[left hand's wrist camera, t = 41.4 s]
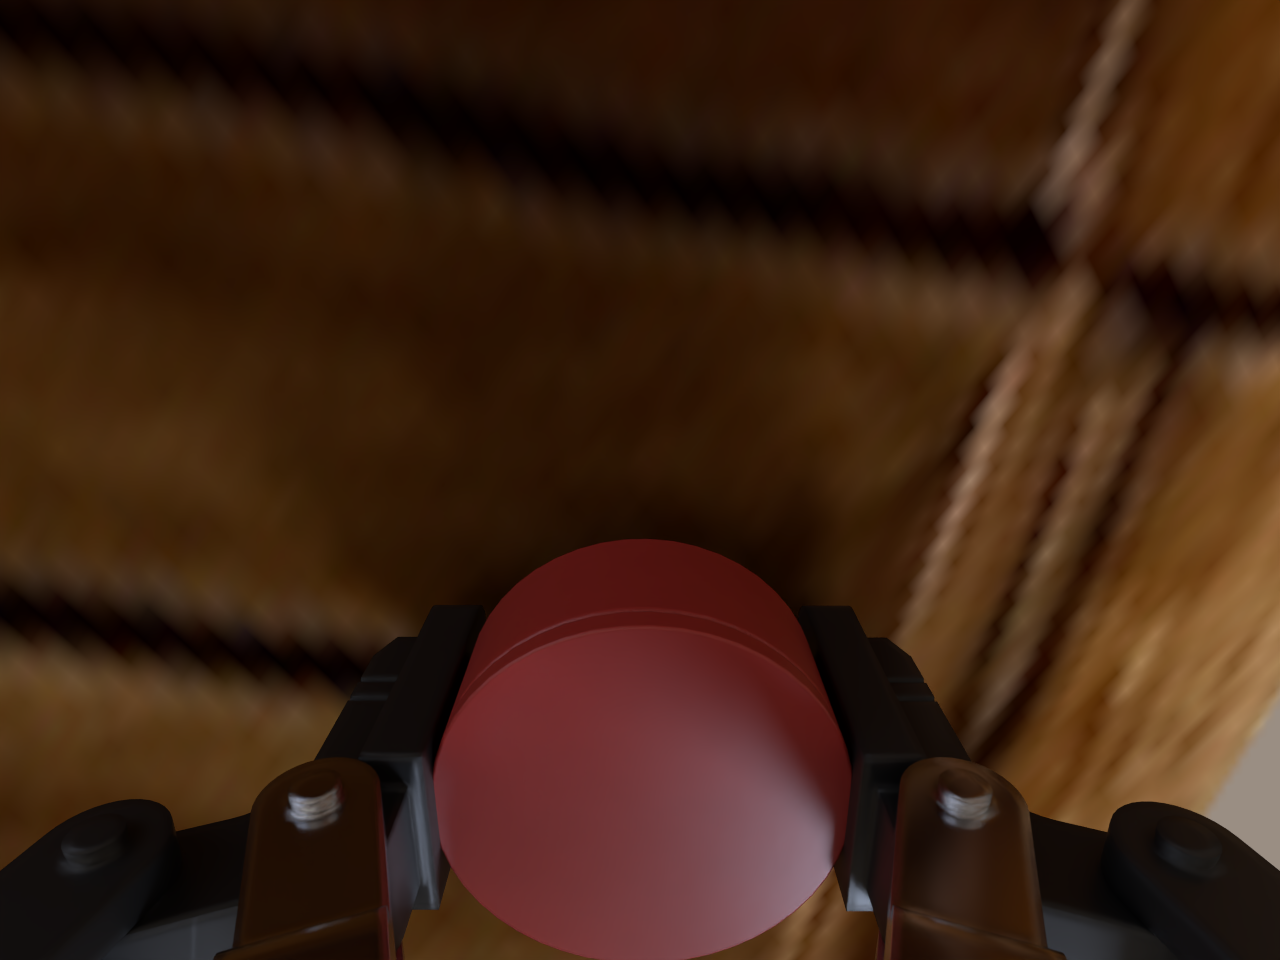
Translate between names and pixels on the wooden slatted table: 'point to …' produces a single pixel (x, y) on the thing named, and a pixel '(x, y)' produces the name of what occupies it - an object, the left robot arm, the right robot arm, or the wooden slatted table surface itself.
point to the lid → (642, 757)
